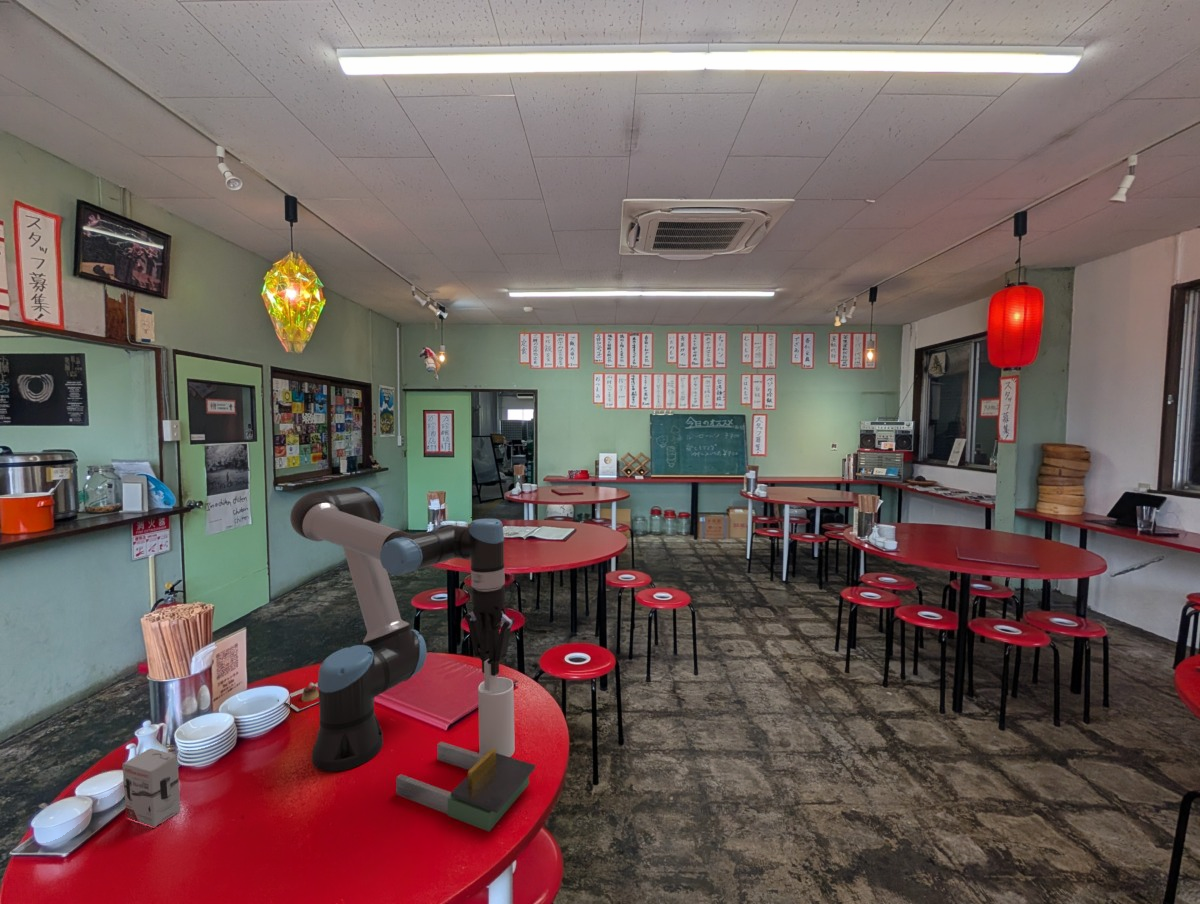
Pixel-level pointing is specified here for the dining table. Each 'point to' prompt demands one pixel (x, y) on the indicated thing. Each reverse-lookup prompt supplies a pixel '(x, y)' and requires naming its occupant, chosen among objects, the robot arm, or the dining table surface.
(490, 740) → the cup
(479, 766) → the cover
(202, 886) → the dining table surface
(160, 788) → the ink box
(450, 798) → the green rectangular box
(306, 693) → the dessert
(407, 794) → the bracket
